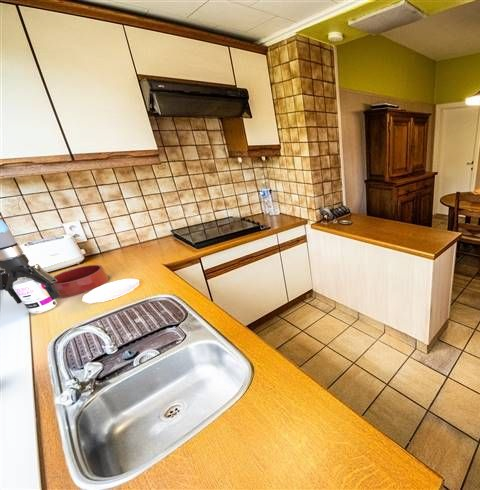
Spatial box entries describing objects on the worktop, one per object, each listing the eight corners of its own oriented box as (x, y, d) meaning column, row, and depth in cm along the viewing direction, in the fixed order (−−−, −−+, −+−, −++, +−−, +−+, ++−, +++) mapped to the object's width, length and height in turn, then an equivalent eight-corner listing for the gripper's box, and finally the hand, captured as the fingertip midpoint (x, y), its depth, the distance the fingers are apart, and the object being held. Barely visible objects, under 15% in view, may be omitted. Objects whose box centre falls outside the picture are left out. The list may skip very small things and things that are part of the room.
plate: (149, 279, 139) (148, 276, 139) (122, 302, 120) (120, 299, 120) (105, 284, 137) (104, 281, 136) (70, 308, 118) (68, 305, 117)
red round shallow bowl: (42, 299, 126) (34, 286, 123) (77, 278, 144) (71, 267, 141) (87, 294, 128) (80, 282, 125) (117, 274, 146) (111, 263, 143)
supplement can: (56, 301, 124) (39, 273, 118) (58, 307, 119) (40, 278, 113) (30, 309, 118) (10, 281, 112) (30, 316, 114) (10, 287, 107)
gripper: (52, 249, 113) (77, 291, 122) (-14, 256, 110) (16, 298, 119) (35, 257, 106) (62, 301, 115) (-37, 264, 104) (-3, 308, 112)
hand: (39, 300), depth 117 cm, fingers open, 13 cm apart
